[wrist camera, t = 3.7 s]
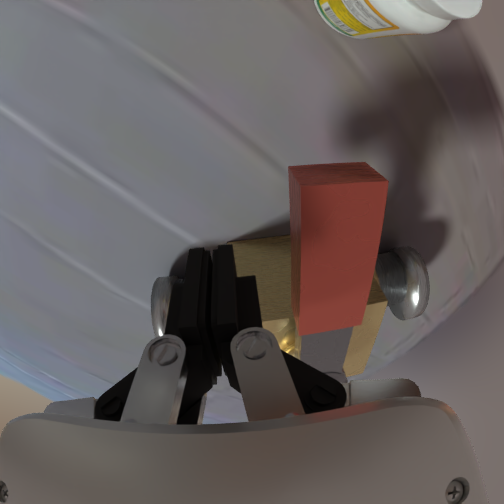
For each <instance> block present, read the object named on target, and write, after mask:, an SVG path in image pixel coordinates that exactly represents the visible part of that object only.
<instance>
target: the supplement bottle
mask: <svg viewBox="0 0 504 504" xmlns="http://www.w3.org/2000/svg"><path fill="white" fill-rule="evenodd" d="M482 1H483V0H314V2H315V6H316V8H317V10H318V12H319V14H320V15H321V17H322V18H323V20H324V21H325V22H326V23H327V24H328V25H329V26H330V27H332V28H333V29H334V30H336V31H337V32H339V33H341V34H343V35H346V36H348V37H352V38H357V39H370V38H378V37H386V36H397V35H411V34H430V33H435V32H438V31H440V30H442V29H444V28H445V27H447V26H448V25H449V24H450V22H451V21H452V20H455V19H468V18H472V17H474V16H476V15H477V14H478V13H479V11H480V9H481V6H482Z"/></svg>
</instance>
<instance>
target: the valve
mask: <svg viewBox="0 0 504 504" xmlns="http://www.w3.org/2000/svg"><path fill="white" fill-rule="evenodd" d="M229 244H232V245H233V251H234V258H235V265H236V272H237V277H243V276H252V275H255V276H256V283H257V290H258V297H259V304H260V311H261V318H262V326H263V328H264V329H267V330H269V331H270V332H271V333H273V334H274V336H275V337H276V339H277V341H278V344H279V347H280V349H281V350H283V351H285V352H287V353H288V354H290V355H292V356H294V357H295V327H296V323H295V319H294V315H293V311H292V307H291V235H284V236H275V237H267V238H258V239H250V240H242V241H234V242H227V245H229ZM184 280H185V279H178V277H177V276H167V277H159V278H157V279H156V281H155V282H154V285H153V289H152V295H151V316H152V324H153V329H154V333H155V337H158V336H161V335H164V333H165V327H166V321H167V315H168V309H169V303H170V298H171V292H172V287H173V285H174V284H177V283H184ZM429 291H430V285H429V276H428V272H427V268H426V265H425V263H424V261H423V259H422V257H421V255H420V254H419V253H418V252H417V251H416V250H415V249H414V248H412V247H409V246H405V247H398V248H393V249H391V250H390V251H389V252H388V253H382V254H378V255H377V260H376V265H375V270H374V275H373V279H372V284H371V288H370V293H369V297H368V301H367V305H366V309H365V313H364V317H363V321H362V324H361V325H358V326H354V327H353V331H352V335H351V339H350V343H349V347H348V350H347V354H346V357H345V361H344V364H343V368H344V371H345V375H346V377H348V376H353V375H357V374H361V373H363V371H364V368H365V366H366V363H367V361H368V358H369V356H370V353H371V350H372V348H373V345H374V342H375V339H376V336H377V334H378V331H379V328H380V325H381V322H382V319H383V316H384V312H385V309H386V307H387V306H389V307H390V309H391V311H392V313H393V314H394V315H395V316H396V317H397V318H398V319H400V320H407V319H411V318H415V317H418V316H420V315H421V314H422V313H423V312H424V311H425V309H426V307H427V304H428V300H429Z"/></svg>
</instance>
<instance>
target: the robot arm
mask: <svg viewBox="0 0 504 504" xmlns="http://www.w3.org/2000/svg"><path fill="white" fill-rule="evenodd" d="M222 366H223V369H224V372H225V375H226V376H227V377H228V380H229V383H230V386H231V387H233V388H234V389H235V390H237V391H238V392H240V393H241V394H242V398H243V402H244V406H245V410H246V414H247V417H248V421H249V422H240V423H225V424H202V422H203V416H204V410H205V405H206V399H207V394H206V393H207V392H208V391H209V390H210V389H211V388H212V387H213V385H214V384H217V376H222ZM0 504H489V501H488V497H487V493H486V489H485V484H484V480H483V477H482V473H481V470H480V466H479V463H478V460H477V457H476V454H475V452H474V449H473V446H472V444H471V441H470V439H469V437H468V434H467V432H466V430H465V428H464V426H463V424H462V422H461V421H460V419H459V417H458V416H457V414H456V413H455V412H454V410H453V409H452V408H451V407H449V406H448V405H447V404H446V403H444V402H442V401H439V400H435V399H431V398H424V397H421V393H420V390H419V387H418V386H417V385H416V384H415V382H413V381H411V380H409V379H403V378H399V379H382V380H351V381H350V383H340V382H339V381H337V380H336V379H334V378H332V377H330V376H328V375H327V374H325V373H323V372H321V371H319V370H317V369H315V368H314V367H312V366H310V365H308V364H306V363H304V362H303V361H301V360H299V359H297V358H295V357H294V356H292V355H290V354H288V353H287V352H285V351H283V350H281V349H280V347H279V344H278V341H277V339H276V337H275V336H274V334H273V333H271V332H270V331H269V330H267V329H264V328H263V326H262V318H261V311H260V304H259V297H258V290H257V283H256V276H255V275H252V276H243V277H237V272H236V265H235V258H234V251H233V245H232V244H229V245H220V246H218V250H213V264H212V259H211V254H210V251H205V249H204V248H194V249H190V250H189V255H188V261H187V267H186V274H185V280H184V283H177V284H174V285H173V287H172V292H171V298H170V303H169V309H168V315H167V321H166V327H165V333H164V335H161V336H158V337H156V338H154V339H152V340H151V341H150V342H149V343H148V344H147V345H146V347H145V349H144V351H143V354H142V357H141V360H140V363H139V365H138V367H137V368H136V369H135V370H133V371H132V372H131V373H130V374H128V375H127V376H126V377H124V378H123V379H122V380H120V381H119V382H118V383H117V384H115V385H114V386H113V387H111V388H110V389H109V390H107V391H106V392H105V393H104V394H102V395H101V396H100V397H99V399H95V398H94V397H90V398H82V399H75V400H67V401H57V402H53V403H50V404H49V405H48V406H47V407H46V409H45V410H44V413H32V414H27V415H23V416H19V417H17V418H15V419H13V420H11V421H10V422H9V423H7V424H6V426H5V427H4V429H3V431H2V434H1V436H0Z"/></svg>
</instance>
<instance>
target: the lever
mask: <svg viewBox="0 0 504 504" xmlns="http://www.w3.org/2000/svg"><path fill="white" fill-rule="evenodd" d="M288 173H289V198H290V234H291V307H292V311H293V315H294V319H295V323H296V327H295V358H297V359H299V360H301V361H303V362H304V363H306V364H308V365H310V366H312V367H314V368H315V369H317V370H319V371H321V372H323V373H325V374H327V375H328V376H330V377H332V378H334V379H336V380H337V381H339V382H340V383H348V381H347V378H346V375H345V371H344V368H343V364H344V361H345V357H346V354H347V350H348V347H349V343H350V339H351V335H352V331H353V327H354V326H358V325H361V324H362V321H363V317H364V313H365V309H366V305H367V301H368V297H369V293H370V288H371V284H372V279H373V275H374V270H375V265H376V260H377V255H378V249H379V244H380V238H381V232H382V226H383V220H384V213H385V206H386V199H387V191H388V182H389V181H388V180H387V179H385V178H384V177H383V176H382V175H380V174H379V173H378V172H377V171H376V170H374V169H373V168H372V167H370V166H369V165H368V164H367V163H365V162H353V163H331V164H314V165H300V166H288Z"/></svg>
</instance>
